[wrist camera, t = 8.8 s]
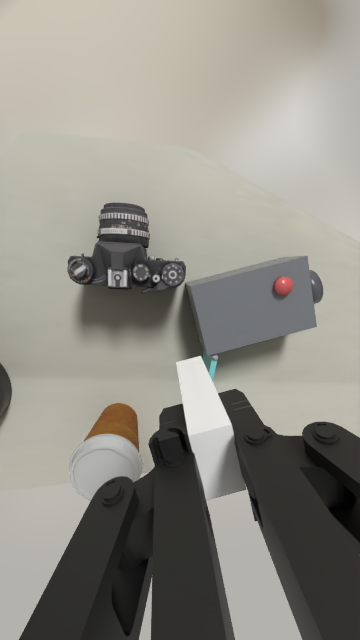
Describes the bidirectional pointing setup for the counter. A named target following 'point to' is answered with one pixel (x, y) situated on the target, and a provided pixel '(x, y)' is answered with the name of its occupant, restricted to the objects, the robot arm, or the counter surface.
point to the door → (210, 363)
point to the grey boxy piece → (254, 303)
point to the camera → (125, 254)
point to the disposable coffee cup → (107, 451)
